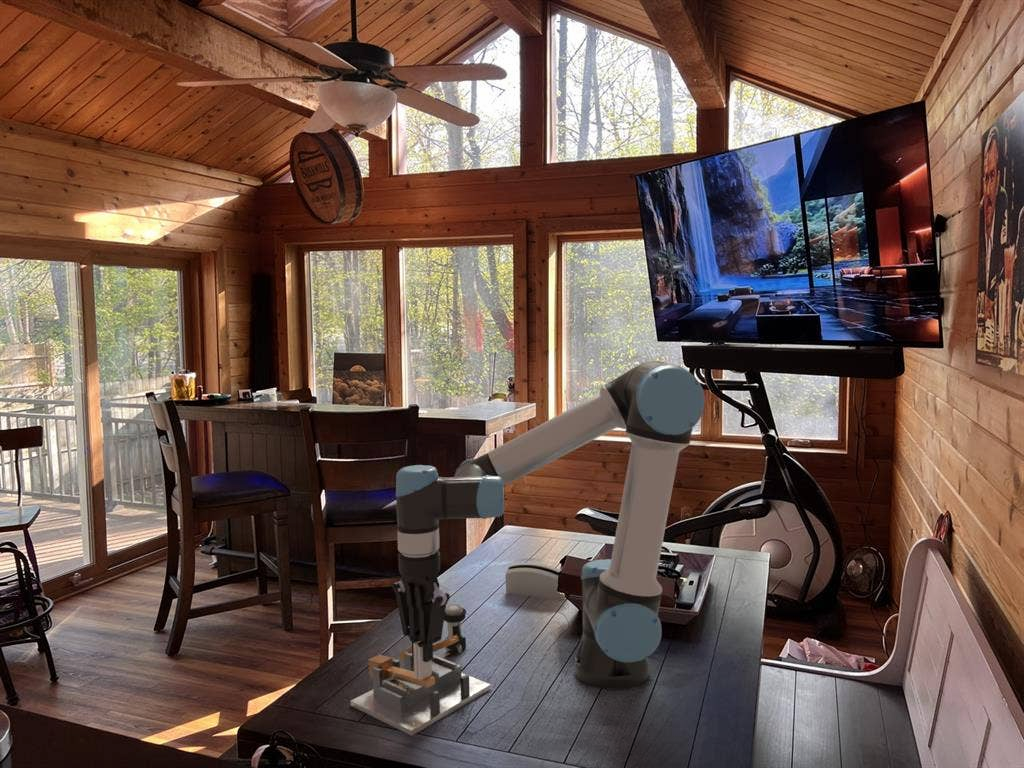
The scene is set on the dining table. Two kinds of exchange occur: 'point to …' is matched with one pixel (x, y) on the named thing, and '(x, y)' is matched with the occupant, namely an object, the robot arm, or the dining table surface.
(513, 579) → the pale grey rounded block
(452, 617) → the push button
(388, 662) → the strap left
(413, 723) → the heatsink base
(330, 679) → the dining table surface
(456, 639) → the strap right
